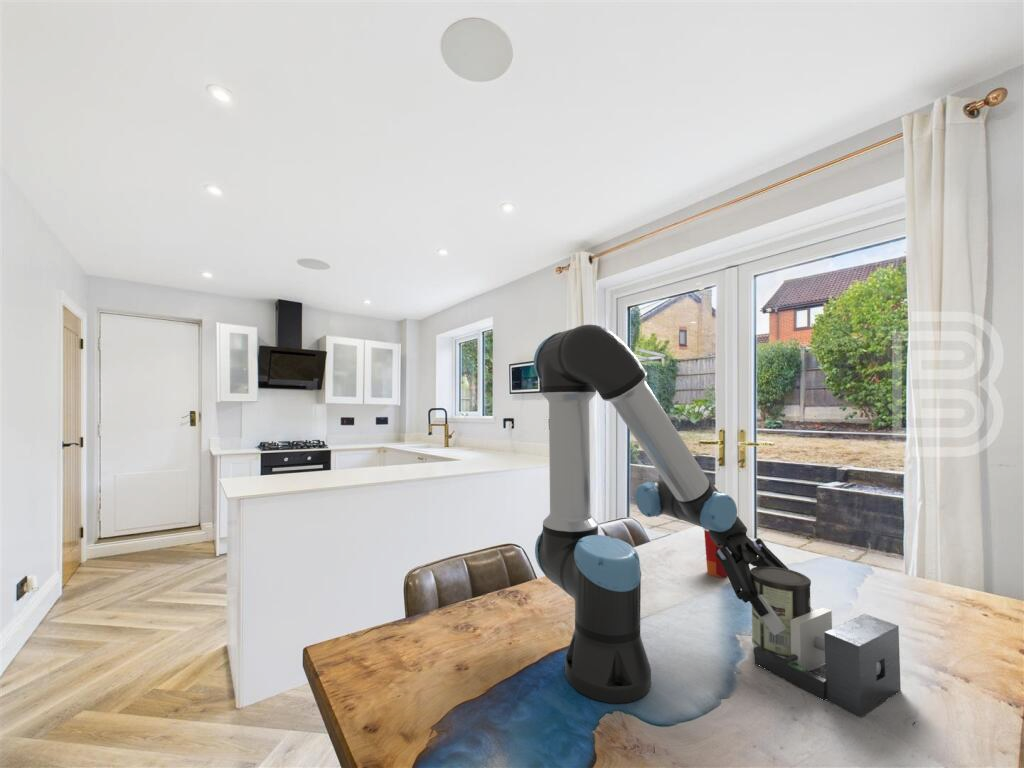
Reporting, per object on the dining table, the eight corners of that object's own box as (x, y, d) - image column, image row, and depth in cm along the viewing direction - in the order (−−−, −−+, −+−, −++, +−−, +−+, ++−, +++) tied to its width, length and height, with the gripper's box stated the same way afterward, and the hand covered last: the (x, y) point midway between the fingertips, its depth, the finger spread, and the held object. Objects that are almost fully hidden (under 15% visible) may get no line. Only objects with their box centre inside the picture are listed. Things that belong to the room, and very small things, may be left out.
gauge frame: (754, 663, 84) (753, 604, 85) (797, 644, 92) (796, 589, 92) (859, 719, 70) (857, 647, 70) (900, 690, 77) (898, 625, 77)
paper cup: (733, 572, 131) (733, 524, 132) (730, 581, 125) (730, 530, 125) (705, 567, 135) (704, 520, 136) (700, 575, 129) (700, 526, 130)
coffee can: (798, 636, 92) (797, 567, 92) (822, 665, 82) (821, 587, 82) (744, 631, 94) (743, 563, 94) (761, 658, 84) (760, 582, 84)
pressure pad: (782, 675, 79) (780, 623, 80) (823, 654, 86) (822, 607, 86) (853, 713, 69) (851, 654, 70) (894, 686, 76) (892, 632, 77)
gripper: (741, 525, 108) (812, 620, 93) (677, 539, 96) (747, 648, 82) (762, 508, 103) (841, 604, 89) (698, 520, 92) (776, 631, 78)
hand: (796, 625), depth 85 cm, fingers closed on coffee can, 10 cm apart
